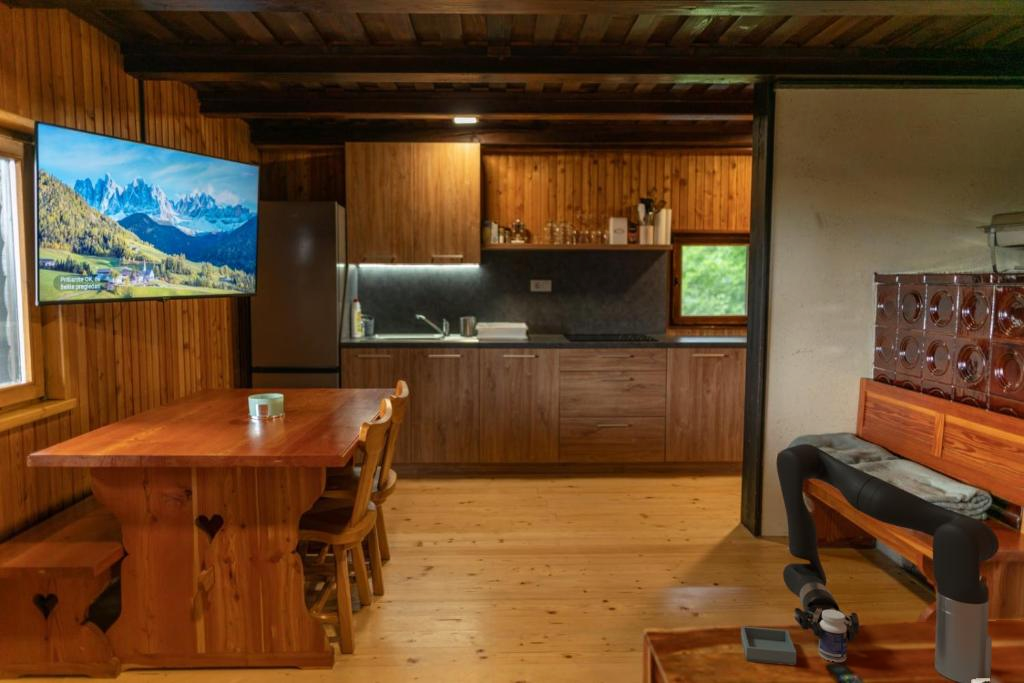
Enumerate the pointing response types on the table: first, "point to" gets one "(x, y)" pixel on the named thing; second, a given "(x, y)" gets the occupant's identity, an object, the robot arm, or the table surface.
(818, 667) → the table surface
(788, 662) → the tray
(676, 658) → the table surface
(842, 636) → the pill bottle
